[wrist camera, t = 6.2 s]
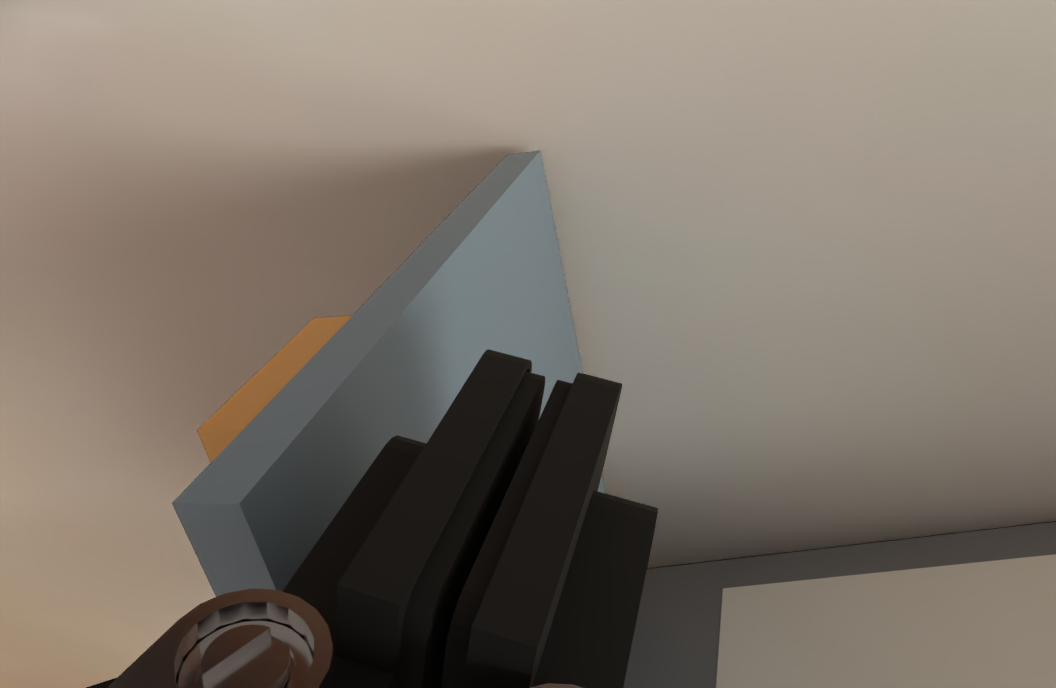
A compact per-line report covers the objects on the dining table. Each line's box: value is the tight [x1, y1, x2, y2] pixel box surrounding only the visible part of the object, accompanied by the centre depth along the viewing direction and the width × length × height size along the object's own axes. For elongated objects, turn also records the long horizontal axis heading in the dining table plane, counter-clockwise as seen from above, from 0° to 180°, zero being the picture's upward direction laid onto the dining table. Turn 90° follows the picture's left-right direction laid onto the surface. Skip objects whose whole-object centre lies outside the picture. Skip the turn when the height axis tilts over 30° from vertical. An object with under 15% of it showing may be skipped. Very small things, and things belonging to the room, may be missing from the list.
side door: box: [172, 150, 606, 597], centre depth 16 cm, size 12×2×12 cm, turn 11°
